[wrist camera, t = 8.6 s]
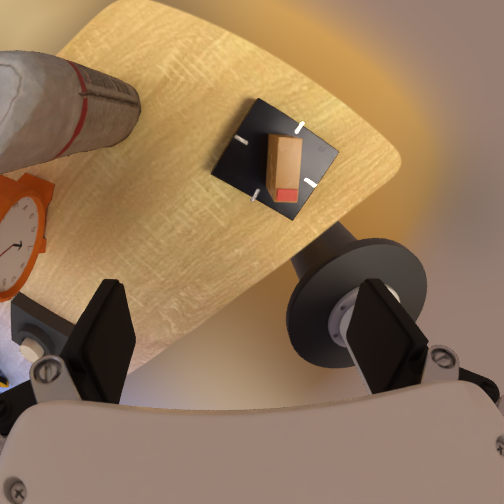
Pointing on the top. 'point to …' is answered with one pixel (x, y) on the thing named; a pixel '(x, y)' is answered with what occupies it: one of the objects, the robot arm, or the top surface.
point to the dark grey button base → (38, 325)
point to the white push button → (31, 350)
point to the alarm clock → (21, 229)
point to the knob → (283, 167)
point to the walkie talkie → (3, 382)
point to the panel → (256, 151)
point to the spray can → (59, 109)
